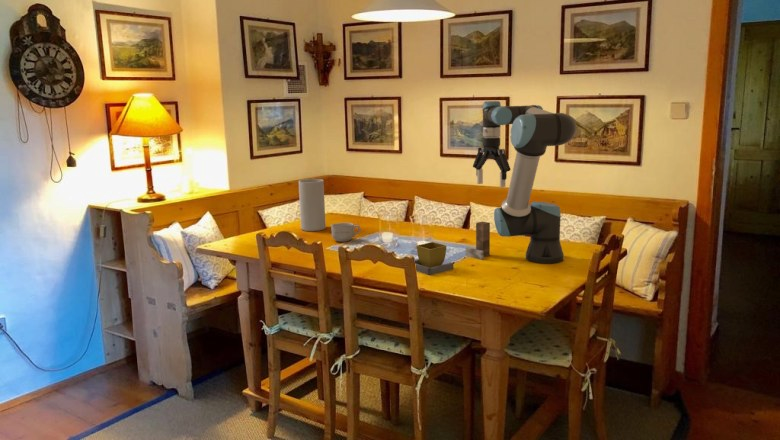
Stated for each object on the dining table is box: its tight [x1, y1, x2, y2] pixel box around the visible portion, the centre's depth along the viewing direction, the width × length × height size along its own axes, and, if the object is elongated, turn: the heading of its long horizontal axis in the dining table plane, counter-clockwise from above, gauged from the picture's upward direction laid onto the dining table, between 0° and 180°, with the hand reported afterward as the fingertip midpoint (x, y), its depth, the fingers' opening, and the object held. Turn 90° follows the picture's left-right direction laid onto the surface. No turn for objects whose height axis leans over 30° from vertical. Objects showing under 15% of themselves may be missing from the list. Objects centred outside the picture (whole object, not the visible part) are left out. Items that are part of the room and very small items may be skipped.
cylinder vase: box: [298, 178, 327, 232], centre depth 327 cm, size 12×12×25 cm
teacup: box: [330, 222, 362, 243], centre depth 302 cm, size 14×11×8 cm
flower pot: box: [416, 241, 448, 268], centre depth 254 cm, size 9×9×9 cm
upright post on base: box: [465, 221, 491, 261], centre depth 268 cm, size 9×8×14 cm
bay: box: [414, 258, 454, 276], centre depth 253 cm, size 14×12×2 cm
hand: (491, 185), depth 283 cm, fingers open, 13 cm apart
